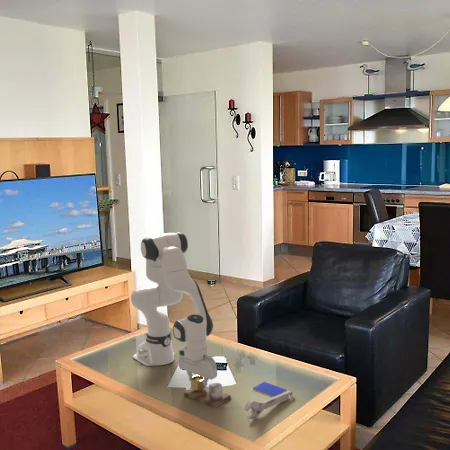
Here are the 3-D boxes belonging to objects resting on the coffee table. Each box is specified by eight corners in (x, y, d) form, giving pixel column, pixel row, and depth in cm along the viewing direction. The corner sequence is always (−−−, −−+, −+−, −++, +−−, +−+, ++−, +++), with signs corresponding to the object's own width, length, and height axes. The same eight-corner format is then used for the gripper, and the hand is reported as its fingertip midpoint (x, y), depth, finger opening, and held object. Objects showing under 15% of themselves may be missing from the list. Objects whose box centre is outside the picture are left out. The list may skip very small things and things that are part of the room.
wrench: (292, 403, 231) (247, 424, 208) (288, 402, 232) (243, 422, 210) (293, 385, 230) (248, 403, 208) (289, 384, 231) (244, 402, 209)
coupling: (187, 387, 235) (187, 378, 235) (198, 382, 240) (197, 373, 240) (198, 391, 231) (198, 382, 231) (208, 386, 236) (208, 377, 235)
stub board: (184, 395, 235) (183, 381, 234) (199, 386, 242) (199, 373, 241) (214, 407, 223) (214, 392, 222) (230, 398, 231) (230, 384, 230)
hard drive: (252, 387, 238) (275, 396, 230) (264, 381, 244) (286, 389, 235) (252, 390, 238) (275, 399, 230) (264, 384, 244) (286, 392, 236)
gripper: (219, 356, 229) (220, 386, 231) (185, 345, 242) (186, 374, 244) (209, 361, 224) (211, 392, 226) (175, 349, 237) (176, 379, 240)
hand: (198, 383), depth 235 cm, fingers closed on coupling, 6 cm apart
